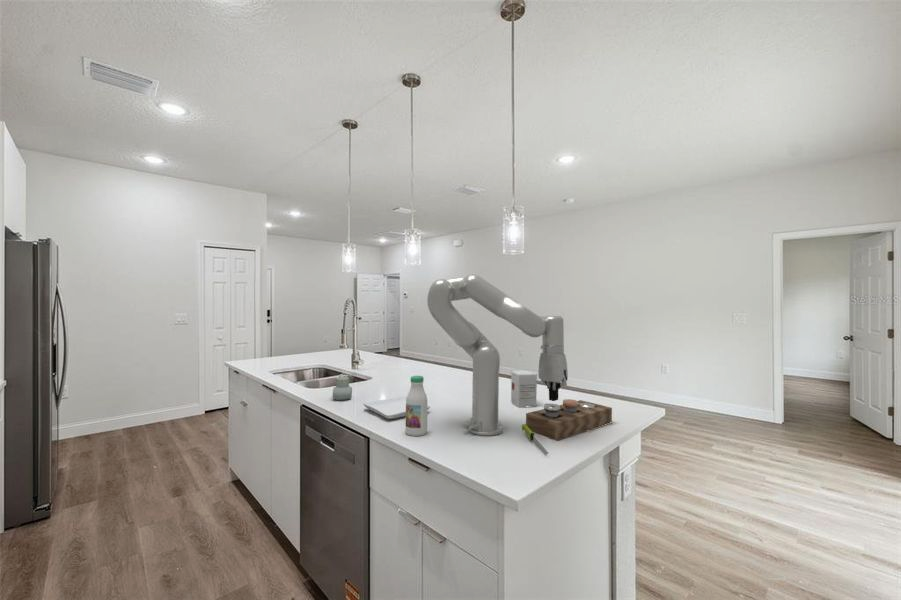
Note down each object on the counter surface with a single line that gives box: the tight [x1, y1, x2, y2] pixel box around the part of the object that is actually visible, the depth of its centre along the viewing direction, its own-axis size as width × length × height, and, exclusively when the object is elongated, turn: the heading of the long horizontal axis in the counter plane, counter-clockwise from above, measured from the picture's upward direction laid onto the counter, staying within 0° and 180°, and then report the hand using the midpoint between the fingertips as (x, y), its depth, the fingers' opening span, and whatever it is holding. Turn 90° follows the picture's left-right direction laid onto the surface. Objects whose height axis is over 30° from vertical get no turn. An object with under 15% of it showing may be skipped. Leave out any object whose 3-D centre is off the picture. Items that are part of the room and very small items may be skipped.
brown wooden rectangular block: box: [525, 399, 613, 442], centre depth 146 cm, size 34×14×6 cm, turn 127°
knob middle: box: [562, 399, 579, 414], centre depth 146 cm, size 6×6×6 cm
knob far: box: [580, 403, 595, 409], centre depth 153 cm, size 6×6×6 cm
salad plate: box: [363, 396, 431, 420], centre depth 162 cm, size 21×21×3 cm
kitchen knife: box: [521, 423, 549, 456], centre depth 127 cm, size 22×1×3 cm, turn 9°
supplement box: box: [510, 370, 538, 408], centre depth 176 cm, size 9×9×15 cm
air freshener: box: [332, 376, 353, 401], centre depth 182 cm, size 11×8×10 cm
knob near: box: [543, 403, 560, 419], centre depth 140 cm, size 6×6×6 cm
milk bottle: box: [405, 375, 428, 437], centre depth 137 cm, size 8×8×20 cm
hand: (553, 400), depth 140 cm, fingers closed
